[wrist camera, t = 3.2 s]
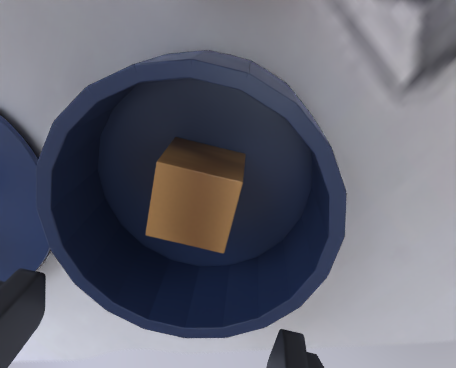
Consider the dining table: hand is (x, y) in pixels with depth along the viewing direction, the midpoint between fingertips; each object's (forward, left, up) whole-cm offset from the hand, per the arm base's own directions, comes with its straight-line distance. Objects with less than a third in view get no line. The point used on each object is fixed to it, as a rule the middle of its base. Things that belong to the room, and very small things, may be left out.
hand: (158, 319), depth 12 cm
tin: (0, 0, -13) cm, 13 cm away
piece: (0, 0, -13) cm, 13 cm away
